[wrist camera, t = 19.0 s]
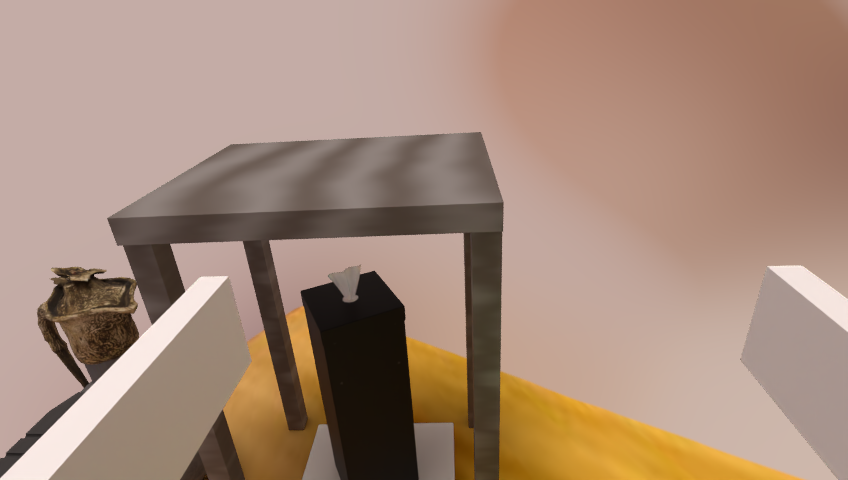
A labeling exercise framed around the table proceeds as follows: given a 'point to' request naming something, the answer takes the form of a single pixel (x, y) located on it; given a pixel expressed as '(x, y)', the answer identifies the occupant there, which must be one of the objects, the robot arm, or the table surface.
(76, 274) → the pitcher
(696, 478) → the table surface
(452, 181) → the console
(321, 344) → the tissue box
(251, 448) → the table surface
